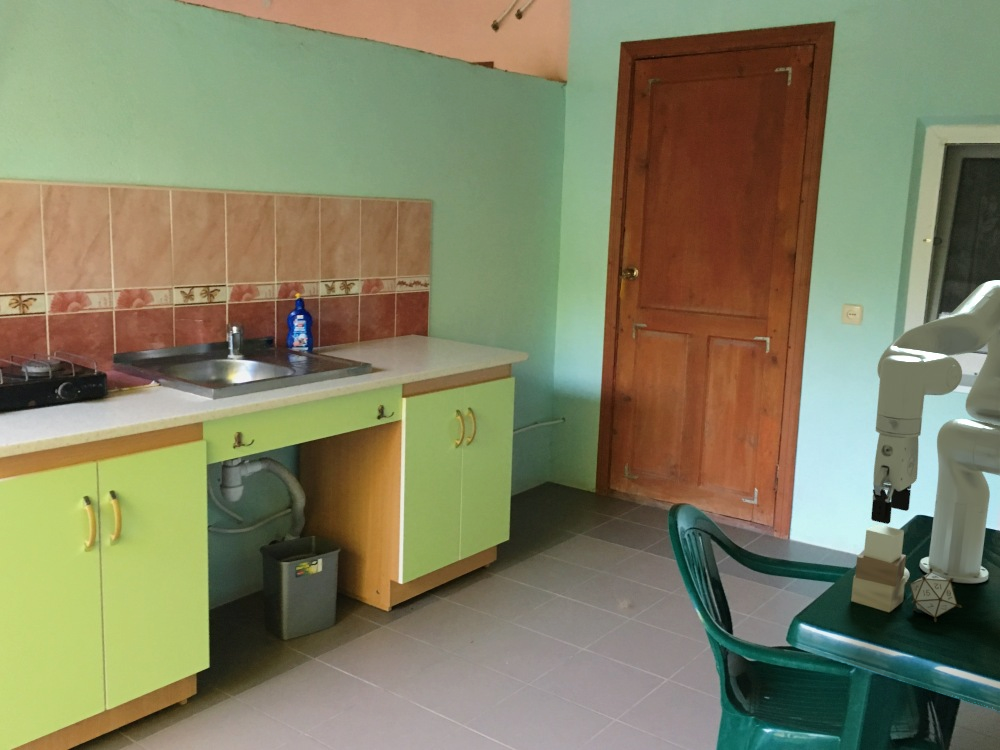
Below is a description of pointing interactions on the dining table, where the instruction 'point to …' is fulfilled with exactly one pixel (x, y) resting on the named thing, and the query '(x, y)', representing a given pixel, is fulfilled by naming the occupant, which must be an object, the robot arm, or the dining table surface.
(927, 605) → the game die
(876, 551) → the ivory cube
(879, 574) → the walnut block
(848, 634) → the dining table surface
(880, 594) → the oak block
